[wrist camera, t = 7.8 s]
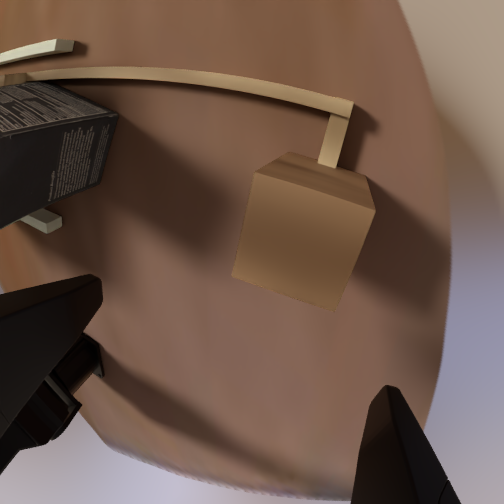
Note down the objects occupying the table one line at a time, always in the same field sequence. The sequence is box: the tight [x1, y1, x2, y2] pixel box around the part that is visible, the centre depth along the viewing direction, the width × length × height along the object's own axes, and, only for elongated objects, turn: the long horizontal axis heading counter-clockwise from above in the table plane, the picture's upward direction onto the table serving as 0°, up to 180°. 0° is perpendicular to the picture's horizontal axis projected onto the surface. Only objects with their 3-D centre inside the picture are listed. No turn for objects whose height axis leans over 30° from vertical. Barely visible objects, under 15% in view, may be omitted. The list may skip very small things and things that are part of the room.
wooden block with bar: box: [0, 67, 376, 312], centre depth 17 cm, size 12×29×7 cm, turn 78°
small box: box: [0, 80, 118, 229], centre depth 16 cm, size 11×6×10 cm, turn 64°
